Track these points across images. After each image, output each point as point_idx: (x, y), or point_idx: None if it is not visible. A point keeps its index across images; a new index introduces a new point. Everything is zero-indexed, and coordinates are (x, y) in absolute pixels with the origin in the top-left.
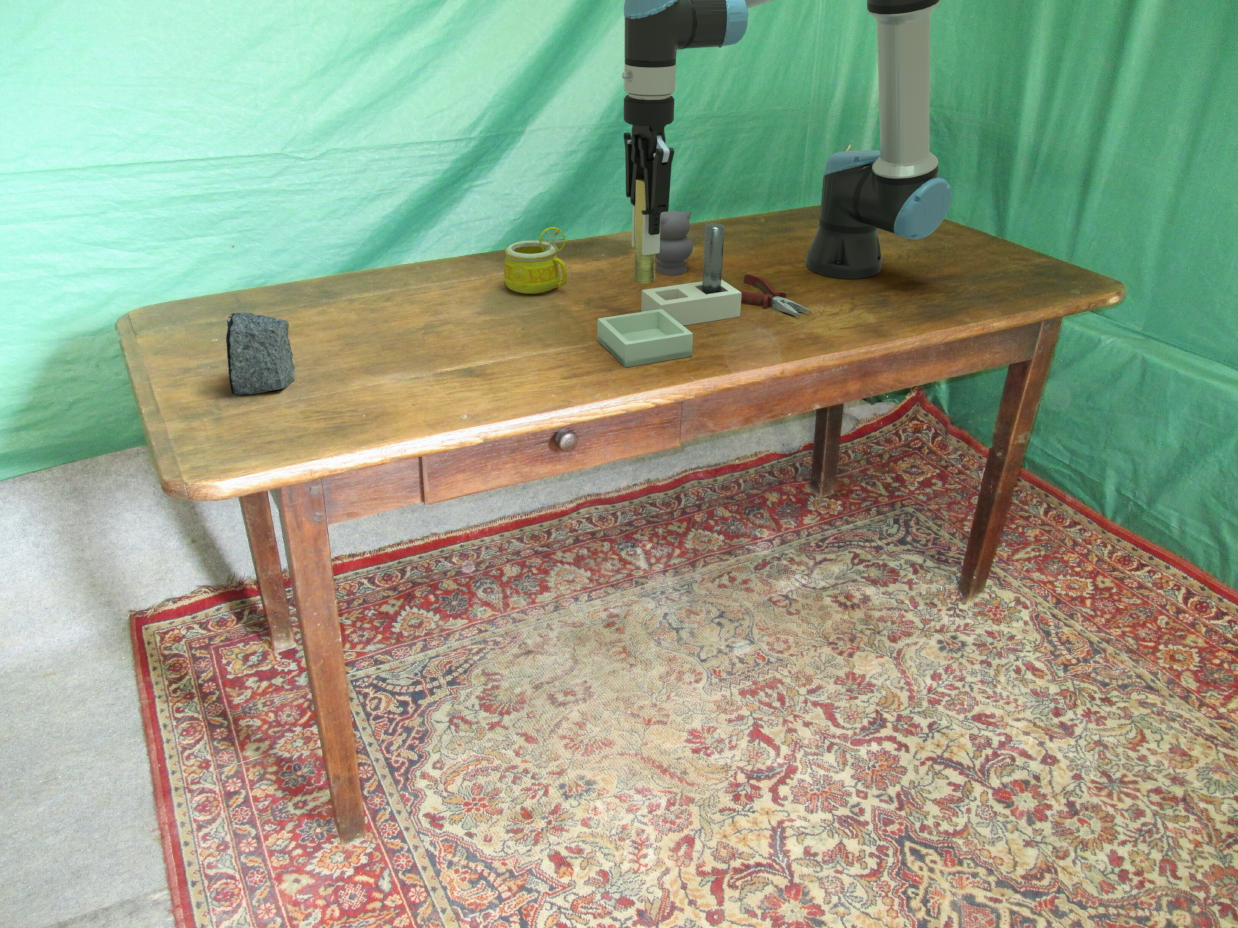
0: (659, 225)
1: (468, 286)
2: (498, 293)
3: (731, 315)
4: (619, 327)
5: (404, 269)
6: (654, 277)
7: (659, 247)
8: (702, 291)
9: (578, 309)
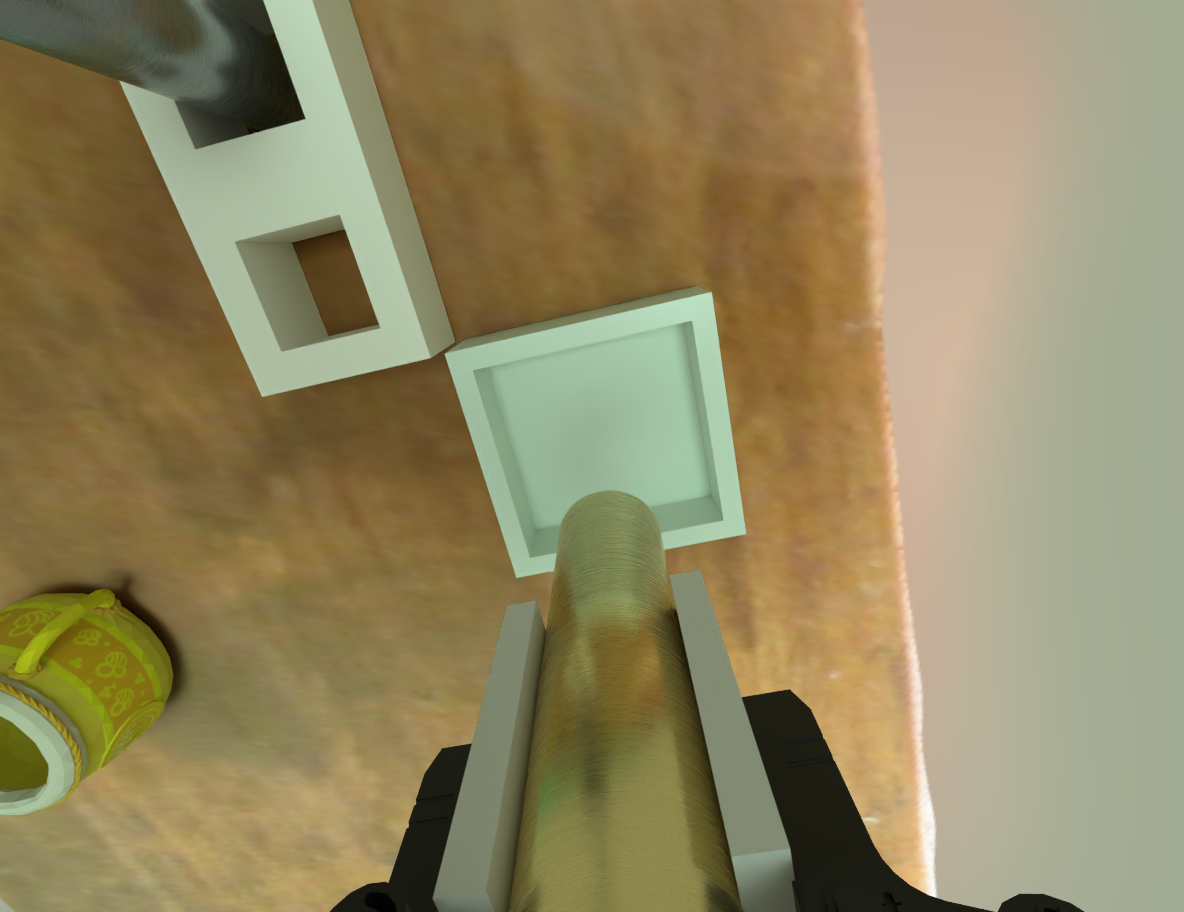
0: (832, 760)
1: (120, 784)
2: (164, 728)
3: (347, 8)
4: (521, 498)
5: (19, 892)
6: (637, 505)
7: (707, 593)
8: (242, 119)
9: (277, 555)
